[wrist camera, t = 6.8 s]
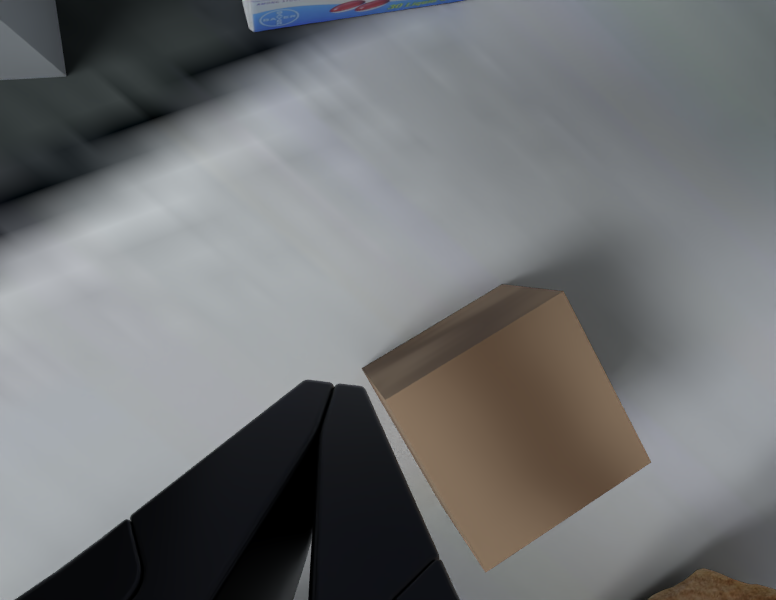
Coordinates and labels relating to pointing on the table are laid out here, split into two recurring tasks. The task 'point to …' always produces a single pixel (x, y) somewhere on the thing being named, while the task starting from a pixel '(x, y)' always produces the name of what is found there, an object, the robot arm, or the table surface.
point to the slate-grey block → (30, 40)
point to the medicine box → (319, 10)
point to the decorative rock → (714, 589)
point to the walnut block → (508, 417)
